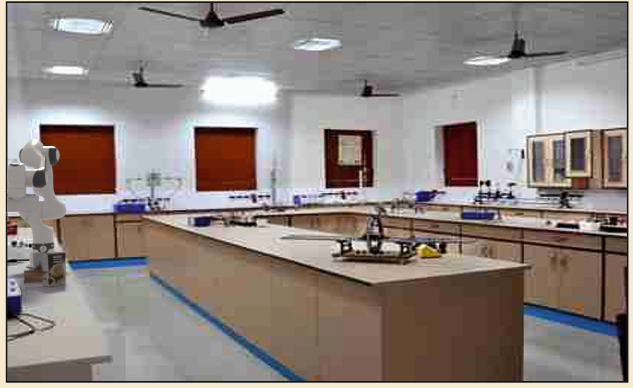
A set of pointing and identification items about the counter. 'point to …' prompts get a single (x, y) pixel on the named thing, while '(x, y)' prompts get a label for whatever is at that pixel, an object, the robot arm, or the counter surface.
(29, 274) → the brown wooden block
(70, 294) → the counter surface
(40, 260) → the grey upright block
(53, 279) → the coffee box
